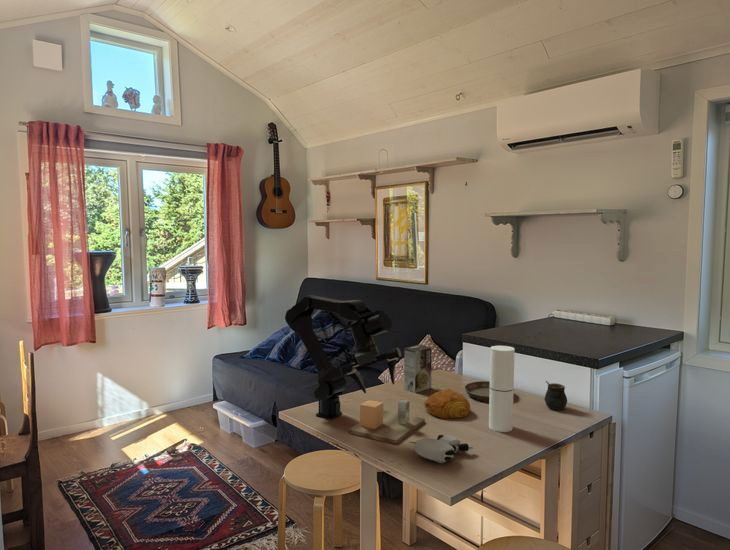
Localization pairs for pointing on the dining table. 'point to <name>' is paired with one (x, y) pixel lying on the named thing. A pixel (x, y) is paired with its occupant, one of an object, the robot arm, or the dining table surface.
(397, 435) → the base board
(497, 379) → the cylindrical container
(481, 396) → the plant saucer
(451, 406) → the croissant
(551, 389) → the mate gourd
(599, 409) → the dining table surface
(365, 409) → the orange rectangular block
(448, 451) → the robot toy
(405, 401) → the post
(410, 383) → the coffee box
